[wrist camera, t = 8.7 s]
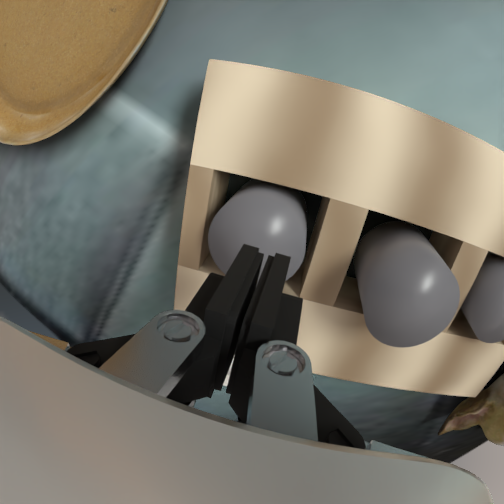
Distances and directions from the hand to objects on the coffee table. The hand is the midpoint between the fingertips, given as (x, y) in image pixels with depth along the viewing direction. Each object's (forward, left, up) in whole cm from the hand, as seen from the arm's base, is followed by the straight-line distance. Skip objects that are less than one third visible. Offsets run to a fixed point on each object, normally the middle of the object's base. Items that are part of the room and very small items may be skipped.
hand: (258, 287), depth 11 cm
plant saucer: (+20, -14, -9) cm, 26 cm away
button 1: (+1, 0, -9) cm, 9 cm away
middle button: (-7, 0, -7) cm, 10 cm away
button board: (-7, 0, -9) cm, 11 cm away
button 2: (-14, 0, -9) cm, 17 cm away
